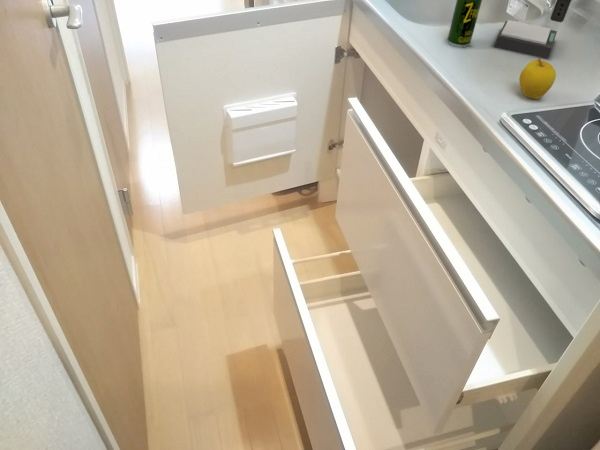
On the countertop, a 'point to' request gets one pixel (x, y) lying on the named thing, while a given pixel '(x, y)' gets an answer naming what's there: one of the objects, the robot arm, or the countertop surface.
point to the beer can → (463, 22)
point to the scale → (526, 38)
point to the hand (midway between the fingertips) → (559, 13)
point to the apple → (537, 78)
